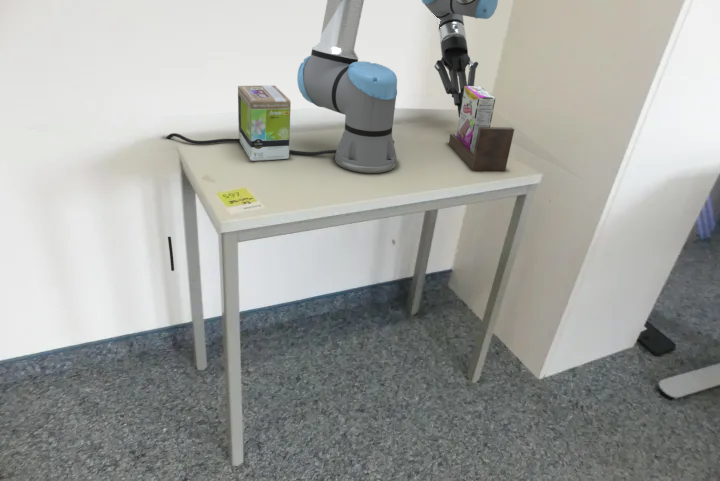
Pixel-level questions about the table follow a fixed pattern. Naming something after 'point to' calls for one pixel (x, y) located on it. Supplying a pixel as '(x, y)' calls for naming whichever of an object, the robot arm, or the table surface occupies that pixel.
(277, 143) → the tea box
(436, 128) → the table surface
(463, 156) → the book rack
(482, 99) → the candy bar box
